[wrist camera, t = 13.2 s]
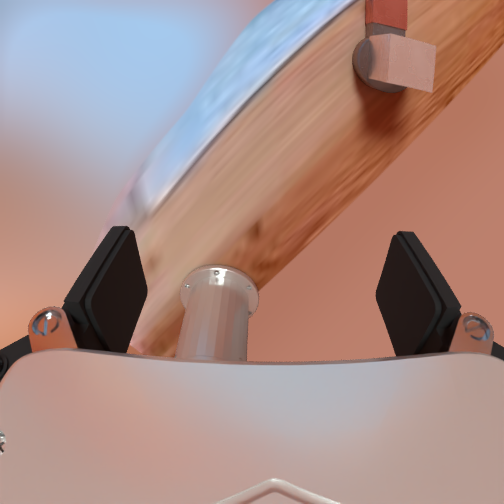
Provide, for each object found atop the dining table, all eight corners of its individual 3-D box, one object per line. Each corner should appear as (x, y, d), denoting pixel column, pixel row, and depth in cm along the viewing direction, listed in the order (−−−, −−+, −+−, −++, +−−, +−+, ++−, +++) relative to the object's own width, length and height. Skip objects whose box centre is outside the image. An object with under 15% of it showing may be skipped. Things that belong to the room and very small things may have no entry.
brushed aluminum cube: (407, 85, 28) (432, 92, 24) (366, 77, 29) (387, 82, 24) (410, 45, 26) (436, 46, 21) (369, 36, 26) (390, 33, 21)
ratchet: (354, -20, 24) (371, -33, 18) (408, -7, 24) (432, -14, 18) (350, 85, 32) (367, 91, 26) (403, 94, 32) (427, 102, 26)
